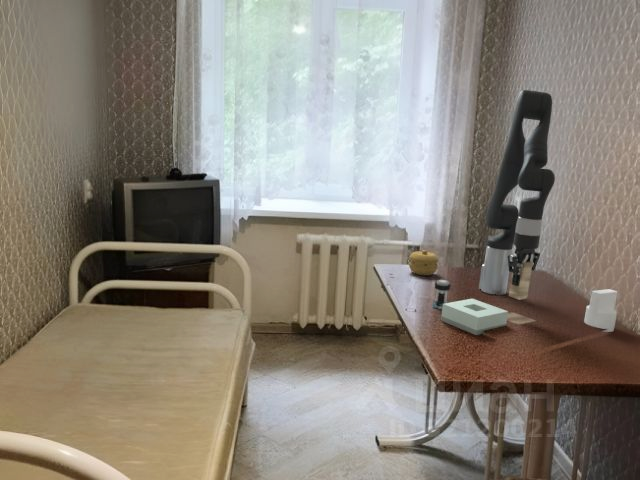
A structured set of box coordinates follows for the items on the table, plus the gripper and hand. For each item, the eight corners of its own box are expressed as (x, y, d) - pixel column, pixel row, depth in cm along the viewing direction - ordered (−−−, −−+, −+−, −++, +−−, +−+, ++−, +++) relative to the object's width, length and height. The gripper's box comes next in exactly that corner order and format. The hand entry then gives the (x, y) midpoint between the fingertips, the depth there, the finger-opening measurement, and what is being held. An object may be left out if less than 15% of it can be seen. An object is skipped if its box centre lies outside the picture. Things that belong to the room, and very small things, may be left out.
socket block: (440, 320, 189) (442, 303, 188) (470, 314, 197) (472, 298, 196) (476, 335, 178) (478, 317, 177) (505, 328, 186) (508, 311, 185)
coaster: (495, 318, 195) (495, 315, 194) (512, 315, 200) (512, 312, 200) (518, 327, 188) (519, 324, 187) (535, 323, 193) (536, 320, 193)
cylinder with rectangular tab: (601, 333, 188) (607, 296, 186) (577, 323, 196) (583, 288, 194) (620, 330, 193) (626, 294, 190) (596, 321, 200) (602, 286, 198)
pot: (430, 279, 238) (433, 255, 236) (403, 274, 244) (405, 250, 242) (440, 274, 248) (443, 250, 246) (414, 268, 254) (416, 245, 252)
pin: (508, 296, 193) (514, 259, 190) (516, 294, 195) (522, 258, 193) (519, 299, 190) (524, 263, 187) (526, 298, 192) (532, 262, 189)
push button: (452, 309, 201) (455, 281, 199) (451, 314, 196) (455, 285, 194) (432, 306, 202) (435, 278, 200) (430, 311, 197) (434, 282, 195)
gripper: (531, 228, 195) (523, 278, 199) (503, 230, 187) (495, 283, 190) (551, 233, 189) (543, 285, 193) (524, 236, 181) (515, 290, 185)
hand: (519, 284), depth 192 cm, fingers closed on pin, 4 cm apart
